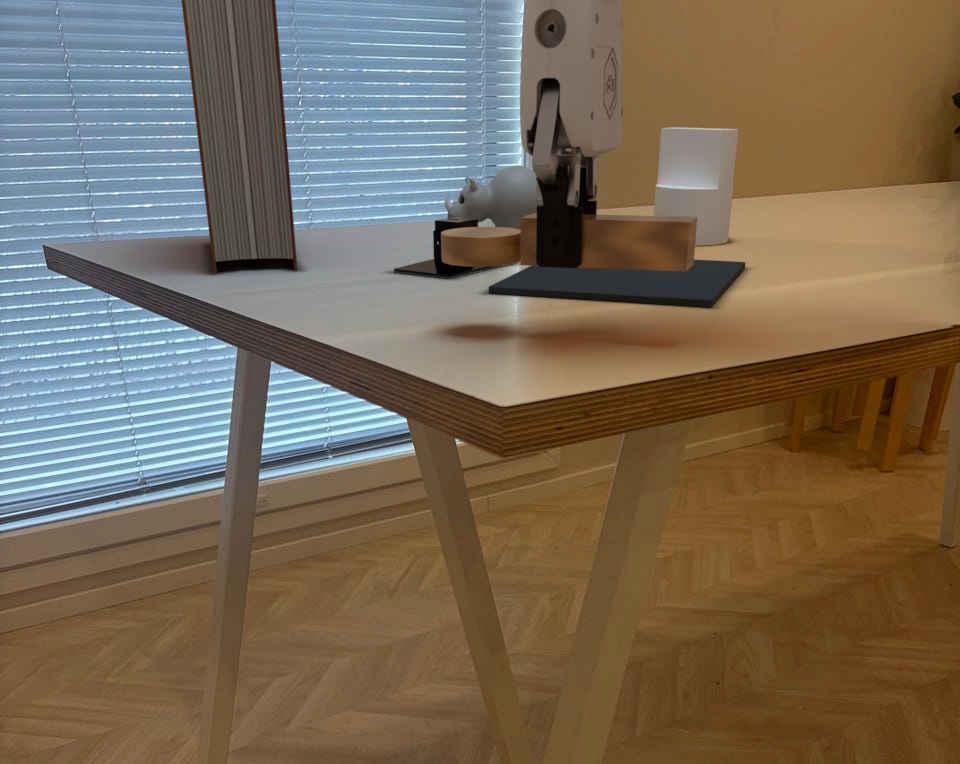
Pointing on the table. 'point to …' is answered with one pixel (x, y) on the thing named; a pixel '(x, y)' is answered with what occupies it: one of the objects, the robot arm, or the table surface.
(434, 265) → the black block on plate
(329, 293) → the table surface
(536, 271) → the mat
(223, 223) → the book
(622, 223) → the wooden disc with bar
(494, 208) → the round bodied animal figurine
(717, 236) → the cylinder with rectangular tab
